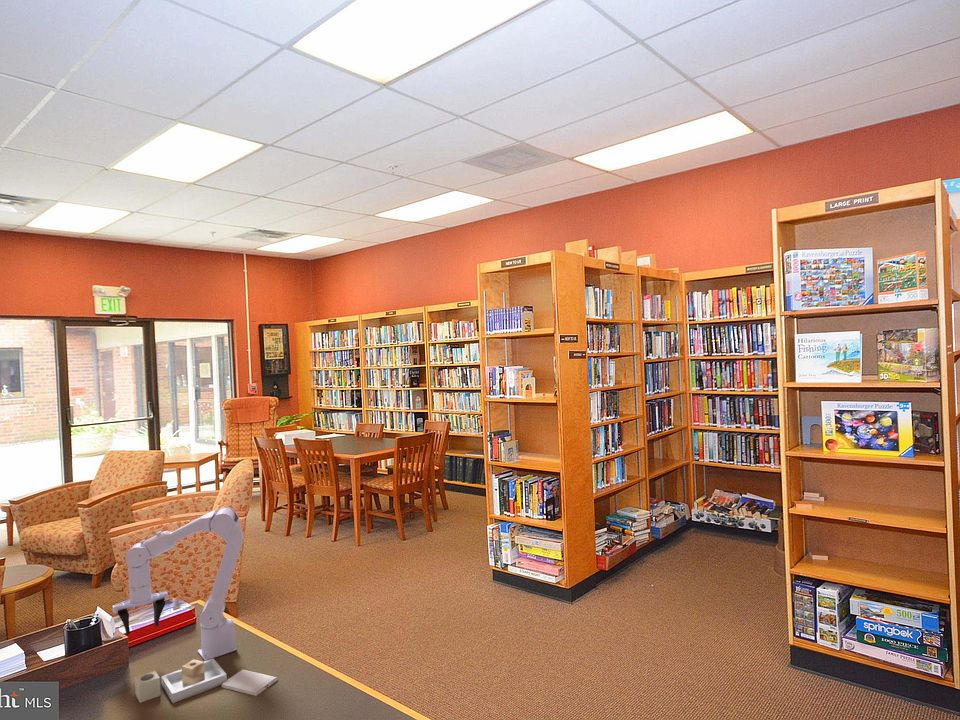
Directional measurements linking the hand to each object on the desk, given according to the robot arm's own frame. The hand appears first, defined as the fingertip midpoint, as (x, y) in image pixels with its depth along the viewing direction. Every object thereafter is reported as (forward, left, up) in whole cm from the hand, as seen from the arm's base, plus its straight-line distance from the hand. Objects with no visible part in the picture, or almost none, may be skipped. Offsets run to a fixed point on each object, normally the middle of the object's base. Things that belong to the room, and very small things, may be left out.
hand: (142, 629), depth 183 cm
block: (-8, +23, -10) cm, 26 cm away
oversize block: (+3, +20, -10) cm, 23 cm away
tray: (-8, +23, -10) cm, 26 cm away
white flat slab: (-20, +34, -11) cm, 41 cm away
